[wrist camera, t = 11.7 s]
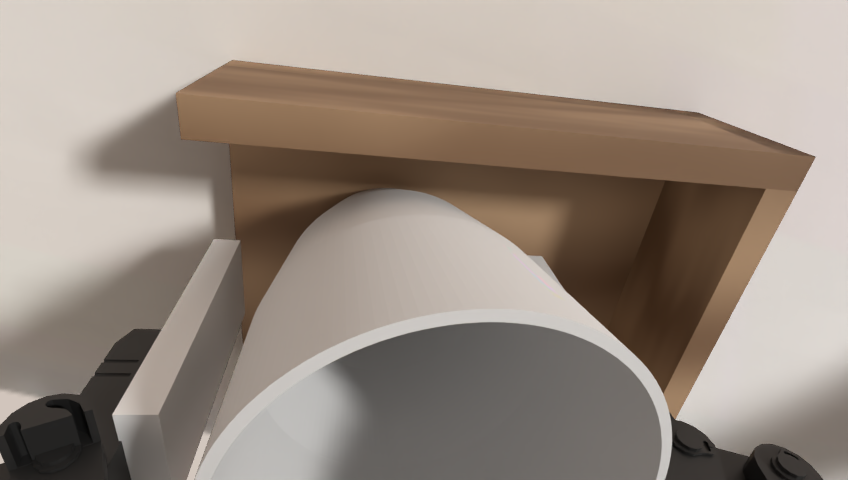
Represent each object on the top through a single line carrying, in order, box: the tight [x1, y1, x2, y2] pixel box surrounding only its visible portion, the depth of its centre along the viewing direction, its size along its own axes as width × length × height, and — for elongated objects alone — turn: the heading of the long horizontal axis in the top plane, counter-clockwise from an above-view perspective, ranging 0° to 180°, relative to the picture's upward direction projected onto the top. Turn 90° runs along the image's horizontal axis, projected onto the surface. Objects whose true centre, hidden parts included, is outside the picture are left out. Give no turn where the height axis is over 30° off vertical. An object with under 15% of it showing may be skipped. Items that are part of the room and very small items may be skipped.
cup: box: [194, 188, 672, 480], centre depth 12 cm, size 8×8×10 cm
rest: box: [176, 60, 815, 419], centre depth 16 cm, size 12×16×5 cm
